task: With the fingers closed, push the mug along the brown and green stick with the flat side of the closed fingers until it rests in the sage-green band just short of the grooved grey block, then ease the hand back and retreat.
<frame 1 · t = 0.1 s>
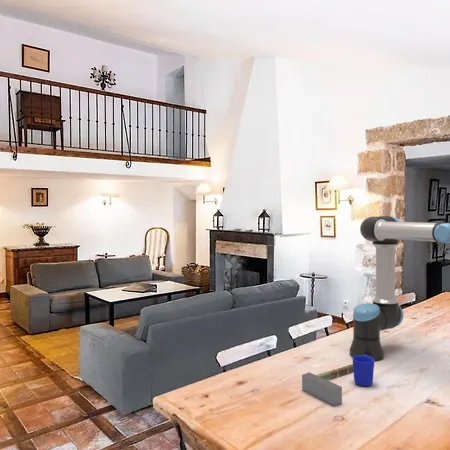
grooved grey block: (321, 396, 157), on the table
brown and green stick: (334, 377, 174), on the table
mug: (363, 382, 169), on the table
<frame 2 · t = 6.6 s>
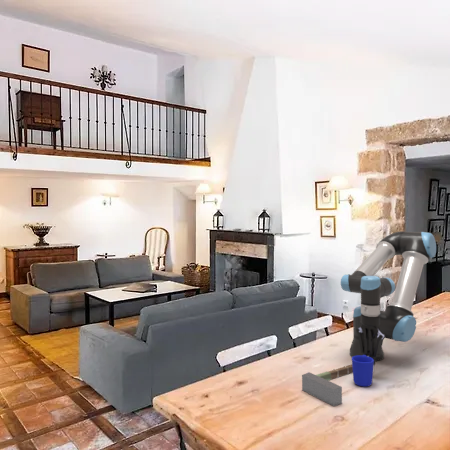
hand: (370, 371, 174), 2 cm above the table, fingers closed
mug: (363, 382, 169), on the table, touching gripper
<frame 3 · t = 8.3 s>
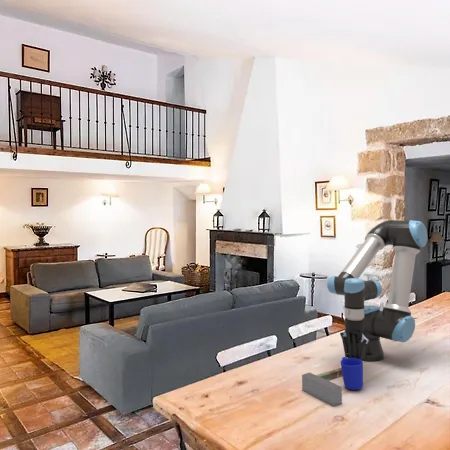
hand: (354, 377, 169), 2 cm above the table, fingers closed
mug: (351, 385, 166), on the table, touching gripper, hand
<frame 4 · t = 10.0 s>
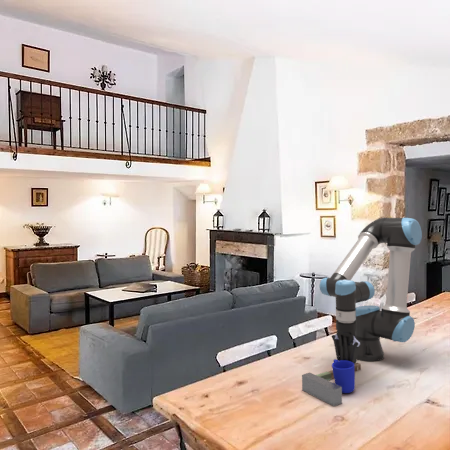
hand: (346, 380, 166), 2 cm above the table, fingers closed
mug: (343, 388, 163), on the table, touching gripper, hand
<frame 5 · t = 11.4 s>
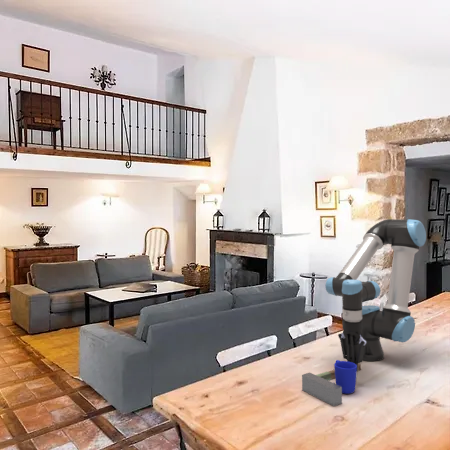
hand: (352, 378, 169), 2 cm above the table, fingers closed
mug: (343, 389, 163), on the table
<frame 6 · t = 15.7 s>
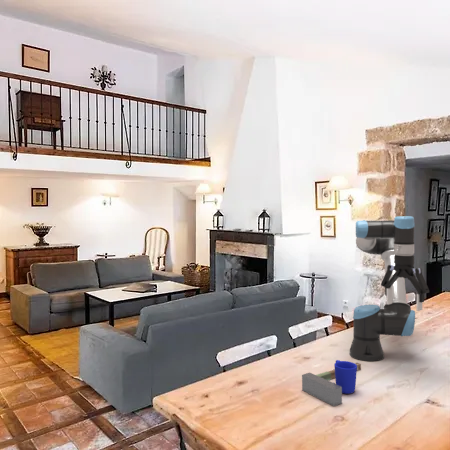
hand: (403, 307, 172), 29 cm above the table, fingers open, 13 cm apart
nothing on the table moved.
at the end: mug inside the target area (3.5 cm from its centre), on the table; mug tilted 0°; mug moved 11.5 cm from its start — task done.
